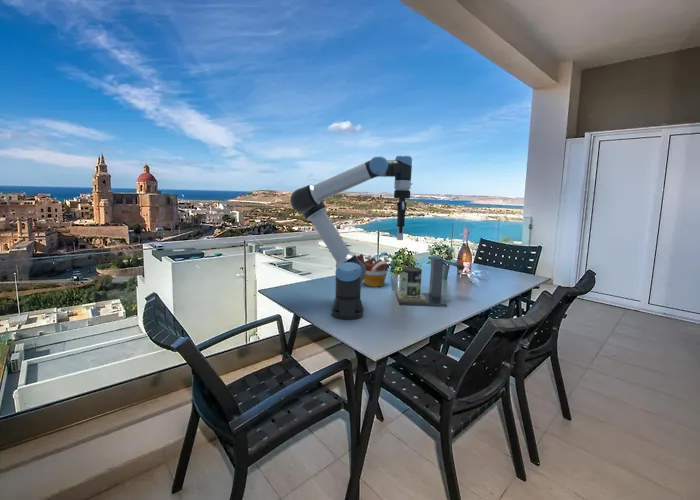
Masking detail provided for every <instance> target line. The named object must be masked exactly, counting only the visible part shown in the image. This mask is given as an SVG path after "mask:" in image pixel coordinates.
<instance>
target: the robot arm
mask: <svg viewBox="0 0 700 500" xmlns="http://www.w3.org/2000/svg"><path fill="white" fill-rule="evenodd" d="M412 168H413V158H412V156H411V155H404V154H403V155H396V156H395V159H389V160H388V159H386V157H384V156H382V155H376V156H374V157H372V158H371V159H370V160H368V161H365V162H363V163H361V164H359V165H357V166H354V167H352V168H350V169H347V170H345V171H343V172H341V173H338V174H336V175H334V176H332V177H329V178H327V179H325V180H322V181H319V182H318V183H316V184H312V183H310V184H308V185H306V186H303V187H300V188H297V189H296V190H294V191H293V192H292V194H291V195H290V200H289V201H290V205H291V207H292V209H293V210H294V211H295V212H297V213H300V214H302V215H303V216H304V219H305V220H306V221H310V222H311V223H312V225H313V227H314V229H316V231H317V233H318V235H319V237H321V240H322V241H323V243H324V245H325V246H326V248H327V249H328V251H329V252H330V253H331V256H332V258H334V260H335V262H336V263H335V271H334V273H335V298H334V300H333V304H332V306H331V316H333V317H334V318H337V319H340V320H356V319H360V318H362V317H363V316H364V313H365V310H364V307H363V303H362V299H361V292H362V291H361V289H362V282H363V281H364V278H365V275H366V268H365V266H364V264H363V263H362V262H361V261H360V260H358V258H357V256H358V255H357V254H356V253H352V252H351V251H350V249H349V248H348V246H347V244H346V242H345V241H344V240H343V238H342V236H341V235H340V233H339V231H338V229H337V228H336V227H335V225H334V224H333V222H332V220H331V219H330V217H329V216H328V213H327V207H326V205H325V203H324V200H326V199H328V198H332V197H334V196H336V195H338V194H340V193H342V192H345V191H346V190H349V189H352V188H353V187H356V186H358V185H360V184H363V183H365V182H368V181H370V180H372V179H375V178H378V177H379V178H380V177H381V178H382V177H383V178H385V177H386V178H387V177H389V178H394V183H393V184H394V185H393V186H394V188H393V189H394V191H393V198H394V199H398V202H396V206H397V208H396V211H397V214H396V215H397V217H396V219H397V220H396V221H397V222H396V223H397V224H396V227H397V231H396V240H397V241H404V228H405V221H406V220H405V219H406V212H407V211H406V209H407V202H406V199H410V198H411V186H412V185H413V183H412V171H413V169H412Z"/></svg>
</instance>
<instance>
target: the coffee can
mask: <svg viewBox="0 0 700 500" xmlns="http://www.w3.org/2000/svg"><path fill="white" fill-rule="evenodd" d="M422 271H423V269H422V268H419V267H415V266H414V267H413V266H404V267H402V272H401V273H402V274H401V290H400V291H401V294H402V295H403V296H406V297H419V296H420V291H421V286H422V285H421V284H422V273H423V272H422Z"/></svg>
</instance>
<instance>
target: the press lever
mask: <svg viewBox="0 0 700 500" xmlns="http://www.w3.org/2000/svg"><path fill="white" fill-rule="evenodd" d="M432 257H439V256H438V255H437V254H432V255H431V256H430V259H431V258H432ZM443 264H446V265H450V266H453V267H456V268H457V269H458V270H460V271H463V270H464V269H465V265H464V264H463V263H461V262H460V261H455V262H454V261H450V260H448V259H447V260H446V259H444V263H443Z"/></svg>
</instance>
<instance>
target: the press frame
mask: <svg viewBox="0 0 700 500" xmlns="http://www.w3.org/2000/svg"><path fill="white" fill-rule="evenodd" d="M444 260H445V259H444V258H443V257H442V256H438V257H432V258H431V257H430V261H431V262H430V275H429V276H430V277H429V287H428V288H429V289H428V290H429V291H428V292H422V291H421V290H420V296H419V297H406V296H403V295H402V294H401V290H399V289H398V290H395V297H396V300H397V303H398V305H399V306H417V307H446V308H447V305H448V304H447V302H446V301H445V300H444V299H443V297H442V288H443V276H444V274H443V273H444V264H445V263H444Z"/></svg>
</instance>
